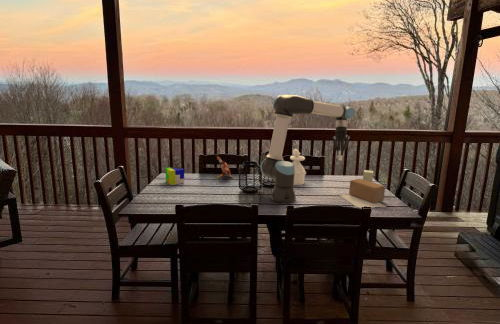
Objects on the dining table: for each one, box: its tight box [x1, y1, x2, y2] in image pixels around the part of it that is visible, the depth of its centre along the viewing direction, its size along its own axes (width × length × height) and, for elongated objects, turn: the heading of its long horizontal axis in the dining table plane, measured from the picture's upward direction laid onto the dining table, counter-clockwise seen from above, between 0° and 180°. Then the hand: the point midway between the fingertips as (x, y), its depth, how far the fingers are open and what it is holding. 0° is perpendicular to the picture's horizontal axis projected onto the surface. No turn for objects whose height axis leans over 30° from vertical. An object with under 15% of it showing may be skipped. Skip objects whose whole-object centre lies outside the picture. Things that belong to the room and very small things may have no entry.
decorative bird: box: [216, 155, 234, 179], centre depth 251 cm, size 28×18×15 cm, turn 6°
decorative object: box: [289, 148, 307, 186], centre depth 241 cm, size 16×14×25 cm
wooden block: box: [348, 178, 386, 203], centre depth 211 cm, size 10×10×20 cm
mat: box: [339, 194, 387, 209], centre depth 206 cm, size 23×18×1 cm
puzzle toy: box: [164, 166, 185, 186], centre depth 236 cm, size 10×10×10 cm
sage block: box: [362, 169, 374, 182], centre depth 227 cm, size 6×6×14 cm
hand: (340, 160), depth 230 cm, fingers closed
